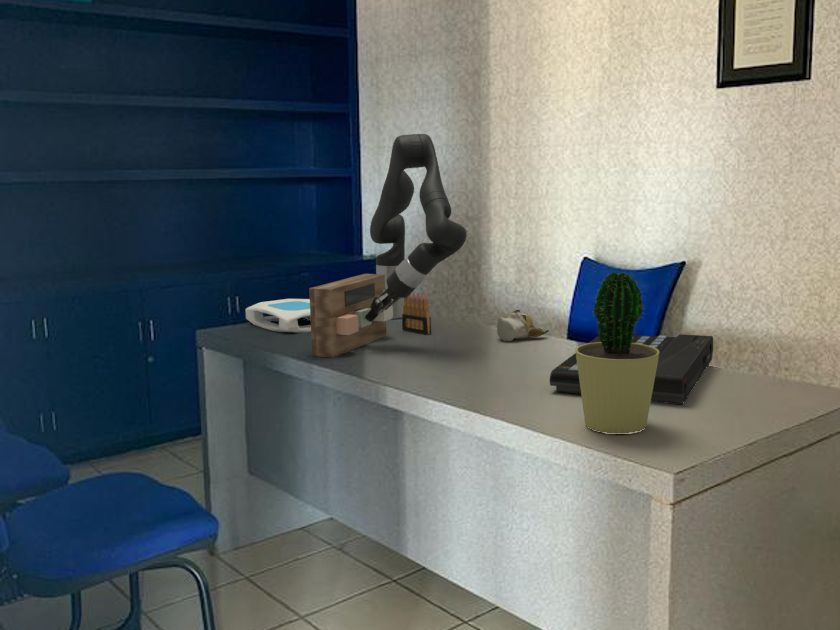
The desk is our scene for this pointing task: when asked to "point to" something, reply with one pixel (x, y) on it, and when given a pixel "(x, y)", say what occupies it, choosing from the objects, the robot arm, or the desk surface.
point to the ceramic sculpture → (517, 327)
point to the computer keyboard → (674, 369)
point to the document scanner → (281, 315)
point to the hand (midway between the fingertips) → (368, 319)
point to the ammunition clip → (416, 314)
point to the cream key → (385, 315)
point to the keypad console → (341, 301)
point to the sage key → (362, 317)
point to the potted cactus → (617, 361)
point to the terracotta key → (347, 324)
